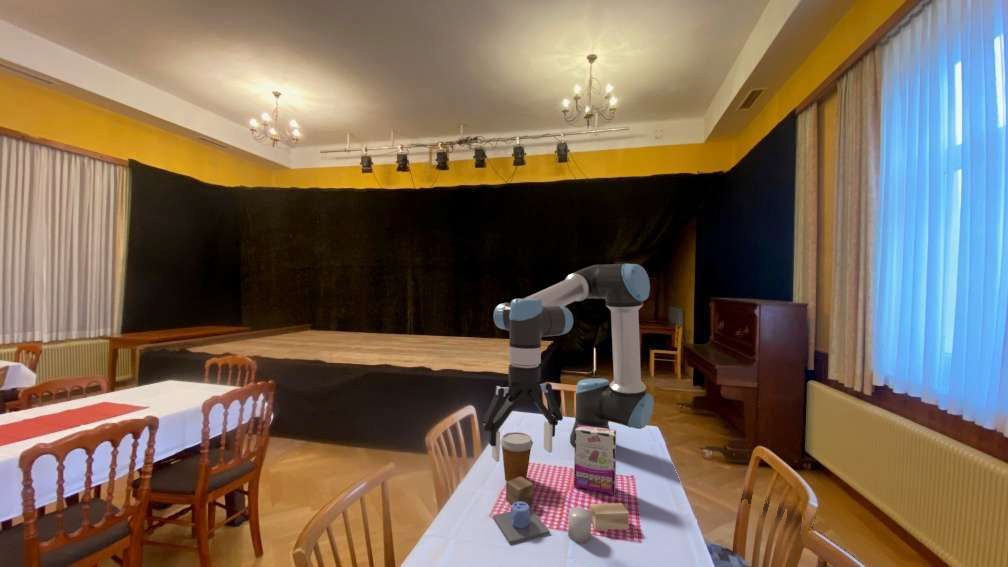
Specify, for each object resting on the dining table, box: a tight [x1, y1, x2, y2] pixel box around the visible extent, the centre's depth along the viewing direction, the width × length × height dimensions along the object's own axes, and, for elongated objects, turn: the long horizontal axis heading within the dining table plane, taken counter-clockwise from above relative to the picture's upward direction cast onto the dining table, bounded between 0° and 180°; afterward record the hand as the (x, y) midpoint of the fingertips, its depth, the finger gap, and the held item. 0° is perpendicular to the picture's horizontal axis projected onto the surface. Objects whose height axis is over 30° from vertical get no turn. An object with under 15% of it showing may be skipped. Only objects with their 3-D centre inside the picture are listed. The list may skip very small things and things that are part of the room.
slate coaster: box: [492, 506, 551, 545], centre depth 89 cm, size 10×10×1 cm
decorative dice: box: [510, 502, 531, 528], centre depth 89 cm, size 4×4×4 cm
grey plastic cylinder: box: [567, 507, 592, 544], centre depth 86 cm, size 5×5×5 cm
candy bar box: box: [573, 425, 617, 496], centre depth 107 cm, size 11×5×16 cm, turn 70°
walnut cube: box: [505, 476, 534, 506], centre depth 99 cm, size 5×5×5 cm
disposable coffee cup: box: [500, 431, 534, 482], centre depth 110 cm, size 10×10×12 cm
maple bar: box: [589, 502, 630, 531], centre depth 90 cm, size 4×8×4 cm, turn 95°
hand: (522, 454), depth 89 cm, fingers open, 13 cm apart
